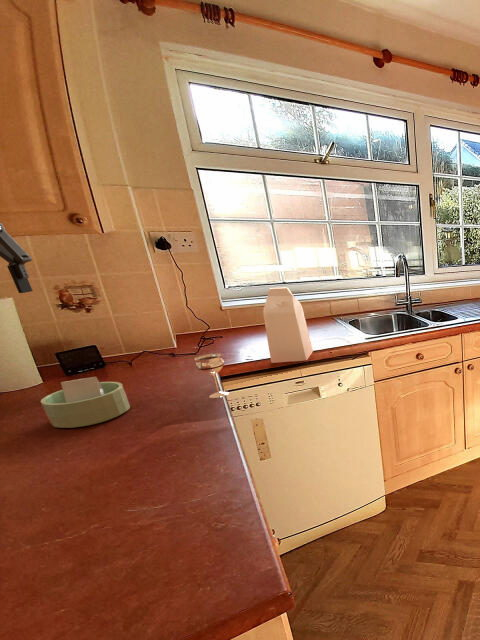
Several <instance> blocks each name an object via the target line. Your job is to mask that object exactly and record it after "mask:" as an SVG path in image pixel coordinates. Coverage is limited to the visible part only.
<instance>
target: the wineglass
mask: <svg viewBox="0 0 480 640" xmlns="http://www.w3.org/2000/svg"><path fill="white" fill-rule="evenodd" d="M193 360H194V361H195V367H196V369H197V370H198V371H199V372H201V373H203V374H205V375H209V376H211V377H212V380H213V383H214V386H215V389H216V392H214V393H212V394H210V395H209V396H208V397H209V398H210V399H219V398H222V397H226V396H227V395H229V391H220V390H219V386H218V385H219V384H218V381H217V378H216V375H217V373H219V372H220V371H222V369H223V368H224V366H225V361H224V359H223V358H222V354H221V353H216V352H215V353H205V354H202V355H198V356H196V357H194V359H193Z"/></svg>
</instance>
